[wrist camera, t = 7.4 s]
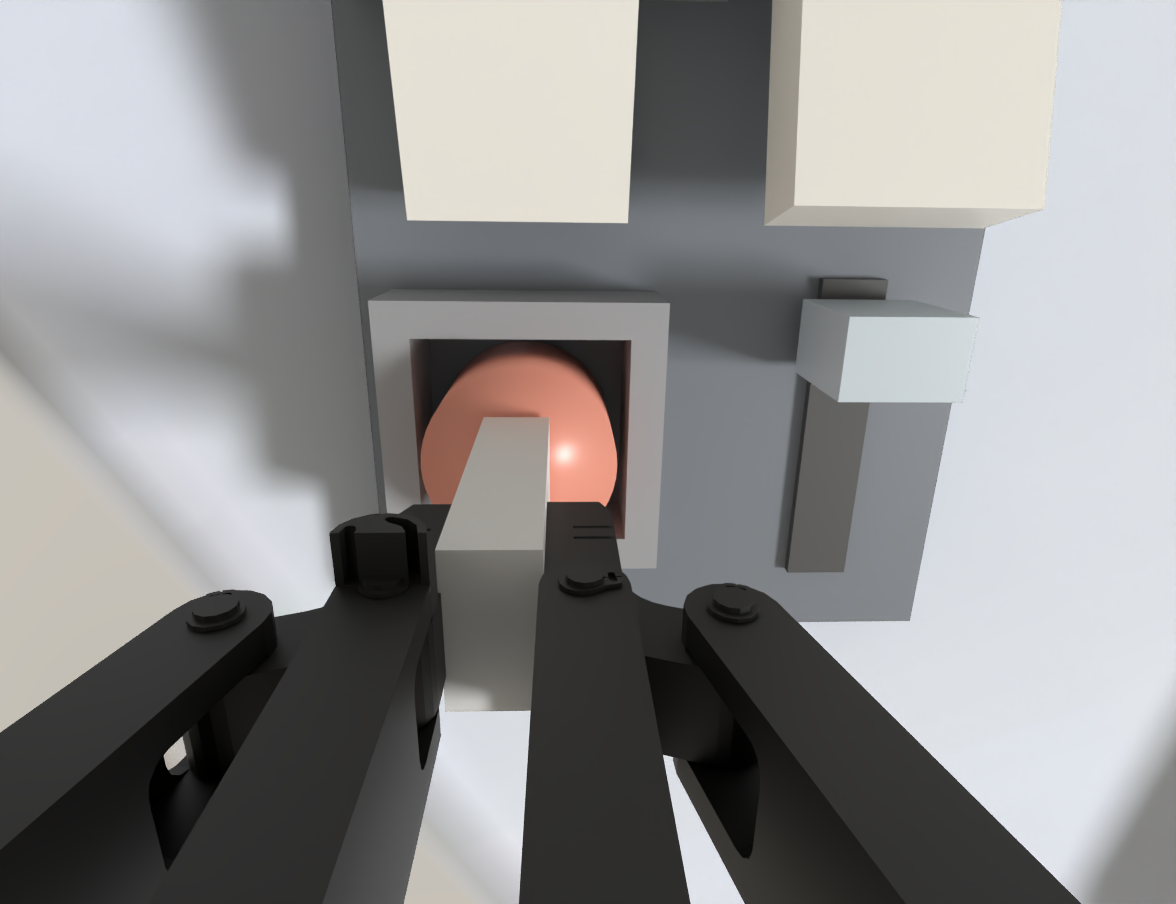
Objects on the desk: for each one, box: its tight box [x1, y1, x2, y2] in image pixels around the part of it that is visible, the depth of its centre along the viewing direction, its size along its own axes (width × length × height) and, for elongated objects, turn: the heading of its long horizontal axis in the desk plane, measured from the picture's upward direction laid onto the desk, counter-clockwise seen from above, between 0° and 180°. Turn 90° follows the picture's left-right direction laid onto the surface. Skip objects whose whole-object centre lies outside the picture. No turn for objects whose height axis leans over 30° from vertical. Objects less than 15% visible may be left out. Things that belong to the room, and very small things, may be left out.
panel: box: [331, 0, 985, 622], centre depth 18 cm, size 25×17×5 cm
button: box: [421, 341, 617, 507], centre depth 18 cm, size 5×5×4 cm
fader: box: [795, 299, 979, 403], centre depth 18 cm, size 2×3×3 cm, turn 89°
